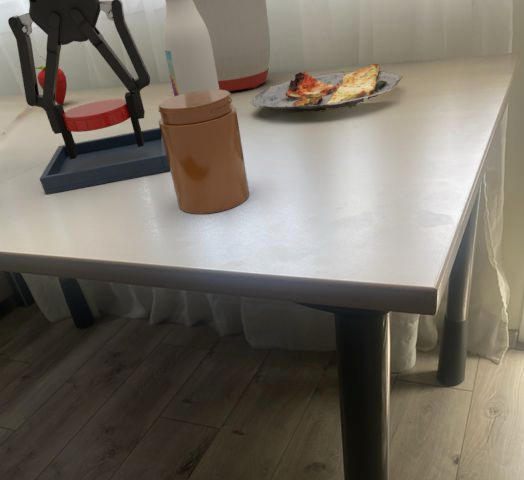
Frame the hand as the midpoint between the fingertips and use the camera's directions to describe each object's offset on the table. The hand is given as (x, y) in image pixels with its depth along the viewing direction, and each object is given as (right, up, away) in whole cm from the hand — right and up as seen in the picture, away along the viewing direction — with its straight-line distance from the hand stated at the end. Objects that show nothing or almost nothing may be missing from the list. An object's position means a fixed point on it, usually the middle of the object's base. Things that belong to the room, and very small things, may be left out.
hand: (107, 149), depth 74 cm
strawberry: (-24, +27, +45) cm, 57 cm away
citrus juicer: (+16, +26, +34) cm, 46 cm away
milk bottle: (+11, +12, +18) cm, 24 cm away
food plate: (+33, +13, +14) cm, 38 cm away
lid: (-1, +4, -3) cm, 5 cm away
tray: (0, -2, +1) cm, 2 cm away
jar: (+16, -11, -15) cm, 25 cm away
